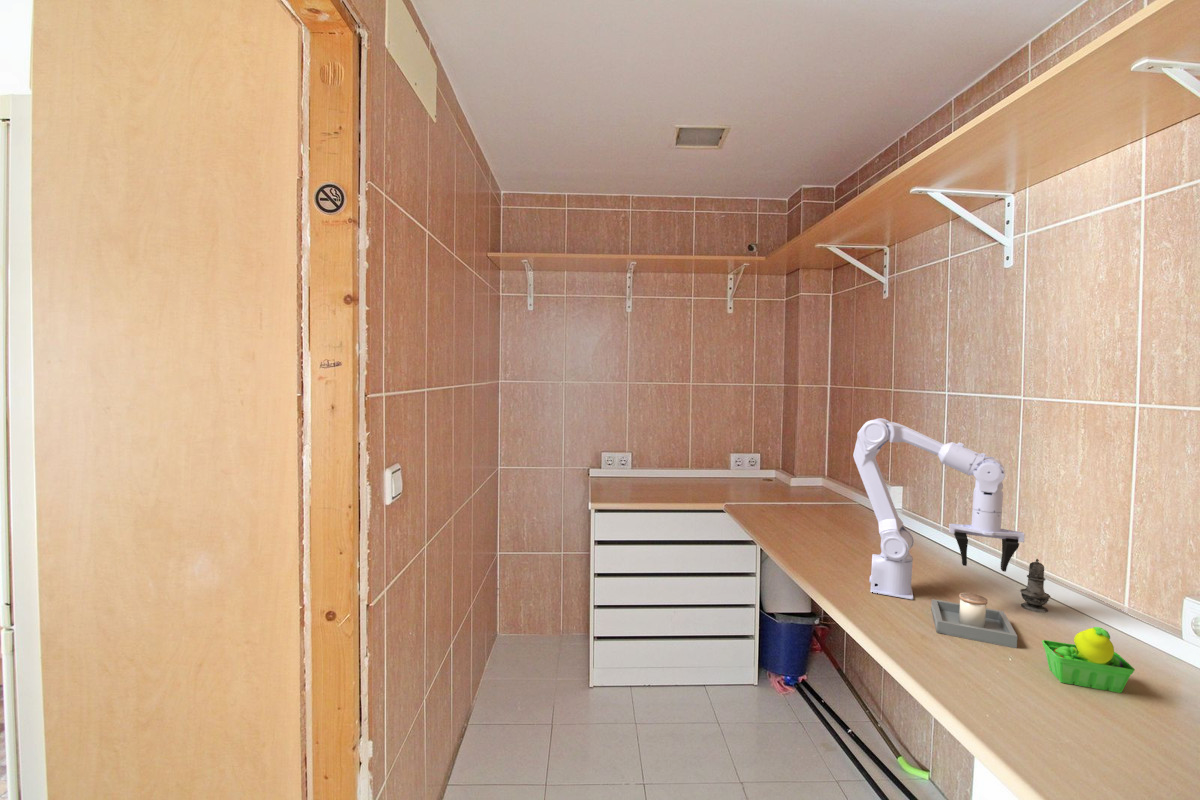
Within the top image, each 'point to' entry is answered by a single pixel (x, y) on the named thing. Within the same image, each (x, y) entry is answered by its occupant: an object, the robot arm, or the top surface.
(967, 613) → the cup
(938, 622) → the tray
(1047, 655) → the fruit basket
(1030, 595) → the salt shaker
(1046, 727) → the top surface
